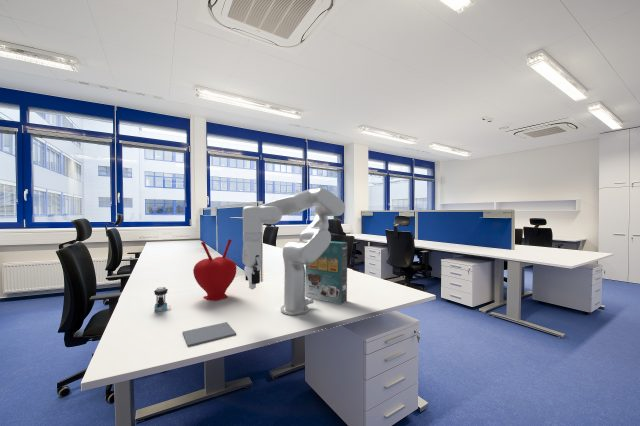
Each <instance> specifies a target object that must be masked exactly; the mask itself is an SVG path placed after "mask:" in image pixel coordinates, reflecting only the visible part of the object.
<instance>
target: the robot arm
mask: <svg viewBox="0 0 640 426" xmlns="http://www.w3.org/2000/svg"><path fill="white" fill-rule="evenodd" d="M312 207H313V208H314V219H313V220H312V222H310V224H308V226H307V227H305V229H303V230H302V232H301V233H300V234H299V238H298V240H299V241H295V240H293V241H288V242H286V244H285V245H284V246H283V248H282V258H283V265H284V268H283V269H284V277H283V278H284V279H283V280H284V288H283V289H284V291H283V292H284V293H283V294H284V295H283V299H284V301H283V305H281V306H280V312H281V313H283V314H284V315H289V316H297V315H302V314H303V315H304V314H305V313H308V311H309V307H308V306H309V305H312V304H314V303H315V301H314V298H310V299H309V298H306V297H305V272H306V265H310V264H313V263H314V262H315V261H316V260H317V259H318V258H319V257H320V256H321V255H322V254H323V252H324V251H325V250H326V249H327V248H328V246H329V244H330V242H331V240H332V236H331V232H330V231H329V227H330V224H329V220H328V219H329V218H328V217H338V216H341V215H343V214H344V212H345V209H346V207H345V203H344V201H343V200H342V198H340V197H338V196H337V195H336V194H334V193H333V192H331V190H328V189H326V188H323V187H318V188H309V189H306V190H303V191H301V192H297V193H295V194H291V195H289V196H286V197H283V198H280V199H276V200H272V201H269V202H266V203H263V204H261V205H258V206H257V205H251V206H250V205H248V206H247V205H246V206H244V207H243V209H242V241H243V242H242V256H241V257H242V259H241V260H242V261H241V262H242V264H243V265H244V266H246V265H247V266H249V267H251V266H252V273H253V274H252V284H256V285H259V284H260V283H261V269H262V263H263V254H262V252H263V250H262V241H263V224H266V225H267V224H268V225H275V224H277V223H279V222H280V221H281V220H282V218H283V217H282V216H291V215H296V214H299V213H301V212H303V211H306V210H308V209H310V208H312ZM254 264H257V265H255V266H253V265H254ZM255 267H257V268H255ZM254 268H255V270H254ZM245 281H247V282H248V277H247V276H246V275H245Z"/></svg>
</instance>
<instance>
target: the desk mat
mask: <svg viewBox="0 0 640 426" xmlns="http://www.w3.org/2000/svg"><path fill="white" fill-rule="evenodd" d="M182 335H183V338H184V340H185V343H186V345H187V348H188V347H192V346H197V345H200V344H205V343H208V342H213V341H216V340H220V339H225V338H229V337H232V336H236V335H237V332H235V330H234V329H233V328H232V326H231V325H230V324H229V323H228V321H226V322H225V321H224V322H220V323H217V324H212V325H206V326H202V327H198V328H197V327H196V328H191V329H188V330H185V331H182Z"/></svg>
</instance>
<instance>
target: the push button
mask: <svg viewBox="0 0 640 426" xmlns="http://www.w3.org/2000/svg"><path fill="white" fill-rule="evenodd" d="M168 291H169V289H168V288H166V287H164V286H162V287H161V286H160V287H157V288H155V290H153V293H154V296H156V297H155V298H156V300H155V301H156V302H155V304H154V309H153V311H154V312H163V311H167V310H168V309H171V305H168V303H167V302H166V294H168Z"/></svg>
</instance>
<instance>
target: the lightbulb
mask: <svg viewBox="0 0 640 426" xmlns="http://www.w3.org/2000/svg"><path fill="white" fill-rule="evenodd" d="M255 265H257V264H254V265H253V266H255ZM255 268H257V267H255ZM255 268H254V270H255ZM243 272H244V274H245V277H246V276H247V277H248V280H247V282H248V284H249V285H248V288H249V289H250V290H254V289H256V288H257V287H256V286H257V284H252V274H253V273H252V266H251V267H249V266H247V265H244V269H243Z"/></svg>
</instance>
